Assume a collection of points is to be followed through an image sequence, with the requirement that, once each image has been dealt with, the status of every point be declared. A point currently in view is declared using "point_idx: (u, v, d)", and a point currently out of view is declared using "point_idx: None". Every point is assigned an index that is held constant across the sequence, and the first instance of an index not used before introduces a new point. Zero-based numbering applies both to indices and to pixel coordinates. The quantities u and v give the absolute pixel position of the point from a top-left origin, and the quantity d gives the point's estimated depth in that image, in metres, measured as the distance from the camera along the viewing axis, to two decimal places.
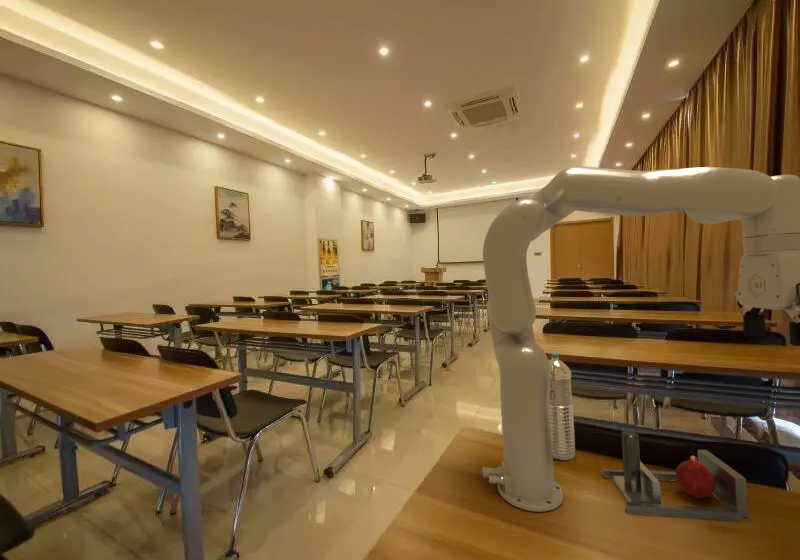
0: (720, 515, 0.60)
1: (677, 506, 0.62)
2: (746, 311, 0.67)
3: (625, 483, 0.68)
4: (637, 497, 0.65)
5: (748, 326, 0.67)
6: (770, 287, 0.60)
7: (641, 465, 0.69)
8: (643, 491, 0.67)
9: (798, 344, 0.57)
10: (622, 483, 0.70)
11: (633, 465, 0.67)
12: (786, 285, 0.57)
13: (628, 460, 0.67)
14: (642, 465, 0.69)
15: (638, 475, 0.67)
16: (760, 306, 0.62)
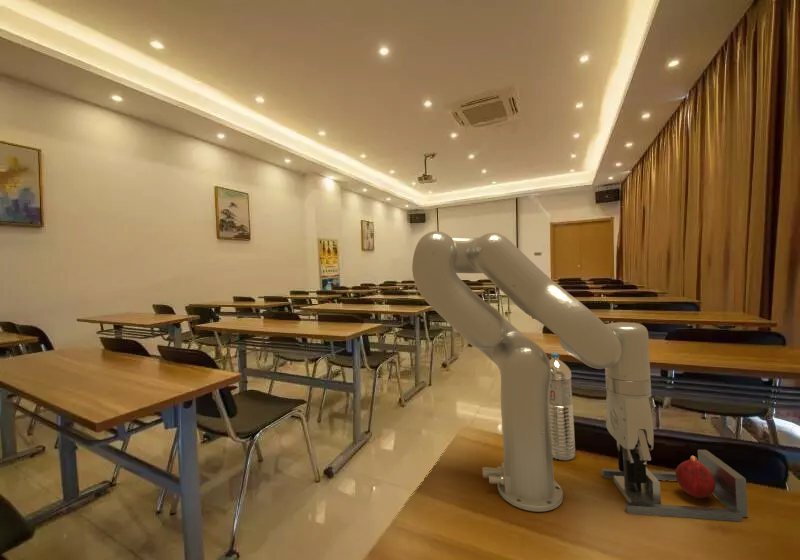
0: (720, 515, 0.60)
1: (677, 506, 0.62)
2: (619, 445, 0.70)
3: (625, 483, 0.68)
4: (637, 497, 0.65)
5: (621, 463, 0.70)
6: (620, 427, 0.66)
7: None
8: (643, 491, 0.67)
9: (632, 481, 0.66)
10: (623, 483, 0.70)
11: None
12: (630, 430, 0.64)
13: None
14: None
15: None
16: (616, 439, 0.68)
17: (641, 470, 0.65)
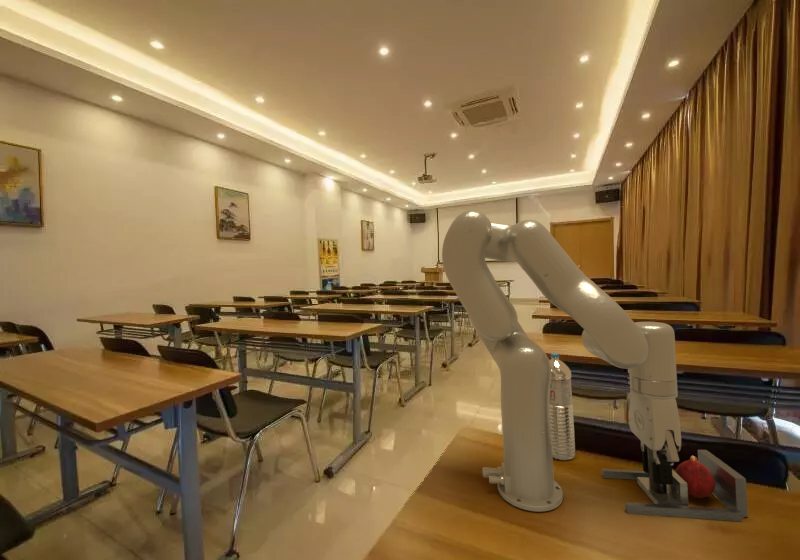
0: (720, 515, 0.60)
1: (677, 506, 0.62)
2: (643, 446, 0.69)
3: (650, 484, 0.67)
4: (663, 499, 0.64)
5: (646, 464, 0.69)
6: (646, 427, 0.65)
7: None
8: (669, 493, 0.66)
9: (658, 482, 0.65)
10: (647, 485, 0.69)
11: None
12: (657, 430, 0.63)
13: (653, 461, 0.67)
14: None
15: None
16: (641, 440, 0.67)
17: (668, 471, 0.64)
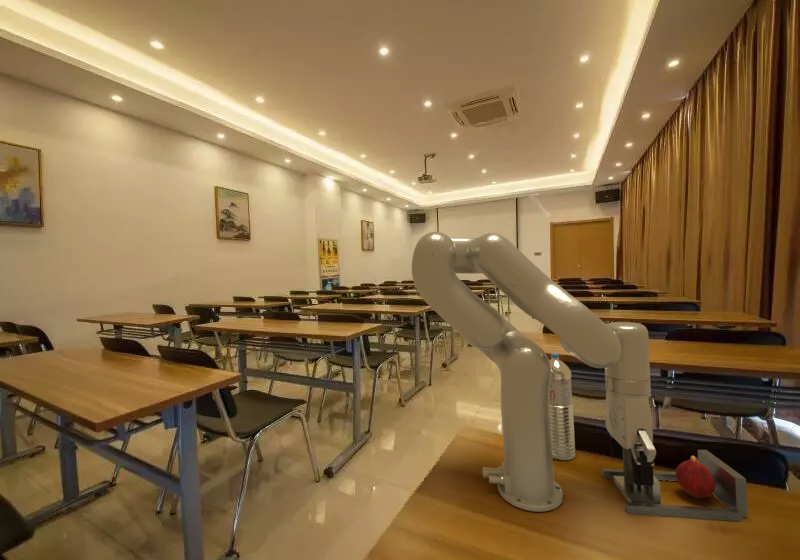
0: (720, 515, 0.60)
1: (677, 506, 0.62)
2: None
3: (625, 483, 0.68)
4: (637, 497, 0.65)
5: (614, 449, 0.73)
6: (620, 426, 0.66)
7: None
8: (643, 491, 0.67)
9: (638, 483, 0.63)
10: (622, 483, 0.70)
11: None
12: (629, 429, 0.64)
13: (627, 460, 0.67)
14: None
15: None
16: (615, 439, 0.68)
17: (648, 472, 0.62)
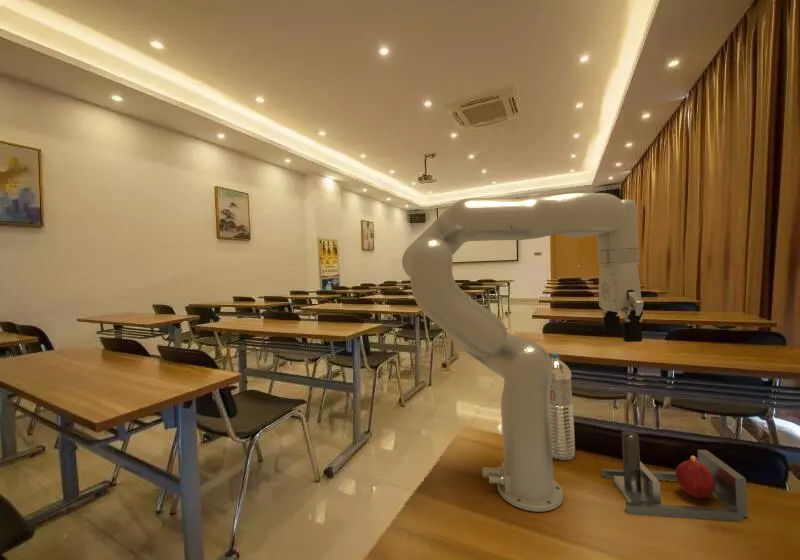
0: (720, 515, 0.60)
1: (677, 506, 0.62)
2: (605, 313, 0.79)
3: (625, 483, 0.68)
4: (637, 497, 0.65)
5: (606, 325, 0.79)
6: (611, 293, 0.72)
7: (641, 465, 0.69)
8: (643, 491, 0.67)
9: (628, 340, 0.69)
10: (622, 483, 0.70)
11: (633, 465, 0.67)
12: (619, 291, 0.69)
13: (627, 460, 0.67)
14: (642, 465, 0.69)
15: (638, 475, 0.67)
16: (607, 308, 0.74)
17: (637, 328, 0.68)
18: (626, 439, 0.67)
